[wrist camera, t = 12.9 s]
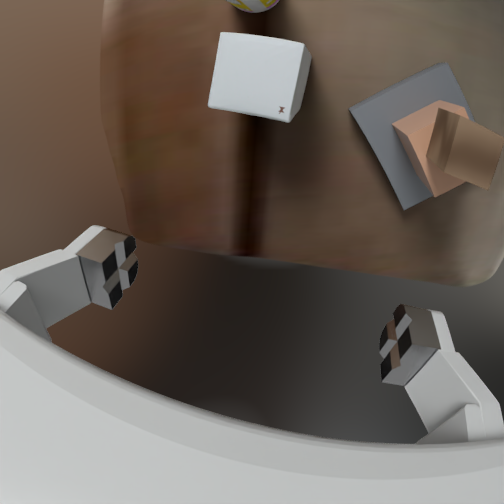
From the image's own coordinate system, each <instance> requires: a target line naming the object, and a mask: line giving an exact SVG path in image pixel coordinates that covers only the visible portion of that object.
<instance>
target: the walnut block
mask: <svg viewBox="0 0 504 504" xmlns="http://www.w3.org/2000/svg"><path fill="white" fill-rule="evenodd" d="M503 144H504V137H502V136H500V135H498V134H496V133H495V132H493V131H491V130H489V129H487V128H485V127H483V126H481V125H479V124H477V123H475V122H473V121H471V120H469V119H467V118H465V117H463V116H460V115H458V114H455V113H453V112H450V111H447V110H444V109H441V108H438V112H437V116H436V120H435V124H434V128H433V132H432V136H431V139H430V143H429V146H428V150H427V153H426V156H427V157H428V158H429V159H430V160H431V161H432V162H433V163H434V164H435V165H436V166H438V167H439V168H440V169H441V170H442V171H443V172H444V173H447V174H449V175H452V176H454V177H457V178H459V179H462V180H464V181H467V182H469V183H472V184H474V185H476V186H479V187H481V188H483V189H486V190H489V187H490V184H491V182H492V179H493V176H494V173H495V170H496V167H497V164H498V161H499V158H500V154H501V151H502V148H503Z"/></svg>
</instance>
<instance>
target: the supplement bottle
mask: <svg viewBox="0 0 504 504" xmlns="http://www.w3.org/2000/svg"><path fill="white" fill-rule="evenodd" d="M226 1H227V2H229V3H231V4H232V5H233V6H235V7H236V8H238V9H240V10H242V11H246V12H251V13H257V12H263V11H266V10H268V9H270V8H272V7H274V6H275V5H276V4H277V3H278V2H279V0H226Z"/></svg>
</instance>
